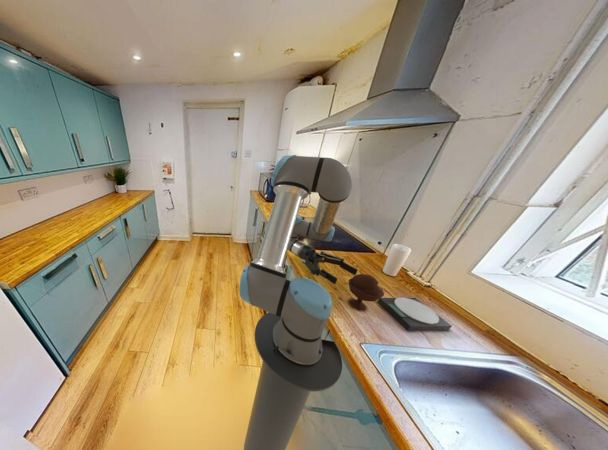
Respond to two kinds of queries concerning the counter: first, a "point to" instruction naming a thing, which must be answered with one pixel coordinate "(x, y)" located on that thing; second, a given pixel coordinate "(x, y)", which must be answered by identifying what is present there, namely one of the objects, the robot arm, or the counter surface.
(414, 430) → the counter surface
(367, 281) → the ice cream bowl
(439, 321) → the kitchen scale
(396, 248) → the drinking glass
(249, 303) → the robot arm
